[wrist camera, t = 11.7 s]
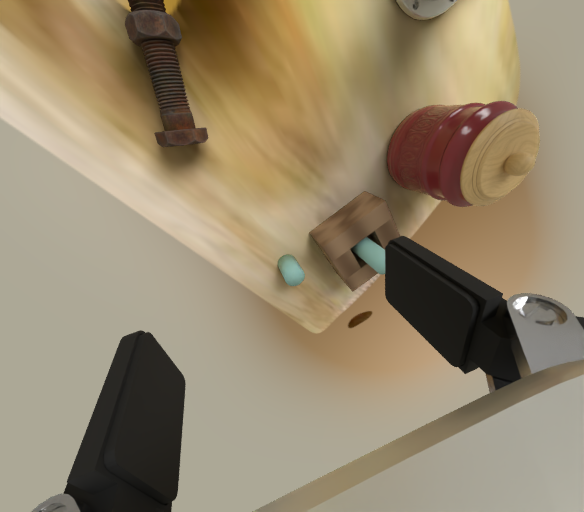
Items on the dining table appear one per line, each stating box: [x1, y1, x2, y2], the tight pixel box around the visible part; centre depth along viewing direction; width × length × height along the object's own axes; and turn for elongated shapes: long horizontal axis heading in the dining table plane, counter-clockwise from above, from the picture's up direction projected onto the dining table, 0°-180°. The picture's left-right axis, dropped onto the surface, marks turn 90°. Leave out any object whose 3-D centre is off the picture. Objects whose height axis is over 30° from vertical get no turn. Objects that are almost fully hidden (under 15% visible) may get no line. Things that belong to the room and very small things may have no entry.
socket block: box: [310, 191, 400, 291], centre depth 44 cm, size 12×12×6 cm
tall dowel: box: [351, 237, 385, 274], centre depth 42 cm, size 3×3×11 cm
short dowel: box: [278, 255, 305, 286], centre depth 43 cm, size 3×3×5 cm
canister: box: [387, 101, 540, 207], centre depth 35 cm, size 13×13×18 cm
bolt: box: [125, 0, 208, 147], centre depth 26 cm, size 6×5×15 cm
